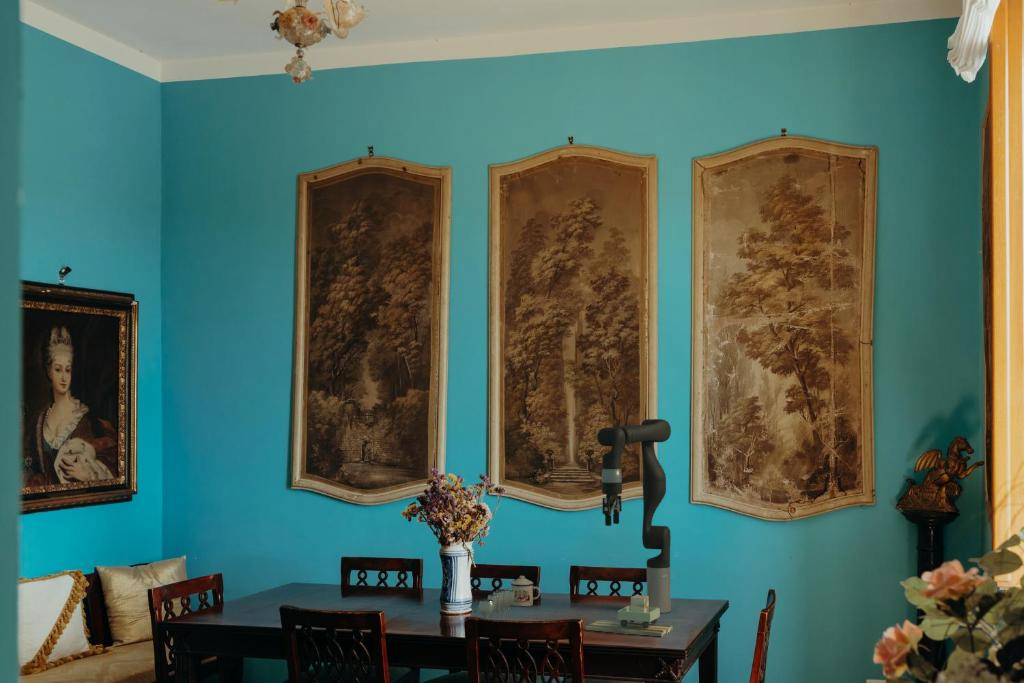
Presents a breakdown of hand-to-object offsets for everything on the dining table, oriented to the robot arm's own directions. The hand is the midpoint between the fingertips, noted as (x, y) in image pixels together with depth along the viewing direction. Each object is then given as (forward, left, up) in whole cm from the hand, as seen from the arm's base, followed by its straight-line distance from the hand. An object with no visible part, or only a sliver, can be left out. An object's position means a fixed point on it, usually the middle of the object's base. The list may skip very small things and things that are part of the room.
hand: (612, 524), depth 398 cm
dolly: (+11, +14, -34) cm, 38 cm away
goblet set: (+28, -34, -36) cm, 57 cm away
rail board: (+11, +10, -36) cm, 39 cm away
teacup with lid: (-22, -46, -36) cm, 63 cm away
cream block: (+11, +14, -30) cm, 35 cm away
